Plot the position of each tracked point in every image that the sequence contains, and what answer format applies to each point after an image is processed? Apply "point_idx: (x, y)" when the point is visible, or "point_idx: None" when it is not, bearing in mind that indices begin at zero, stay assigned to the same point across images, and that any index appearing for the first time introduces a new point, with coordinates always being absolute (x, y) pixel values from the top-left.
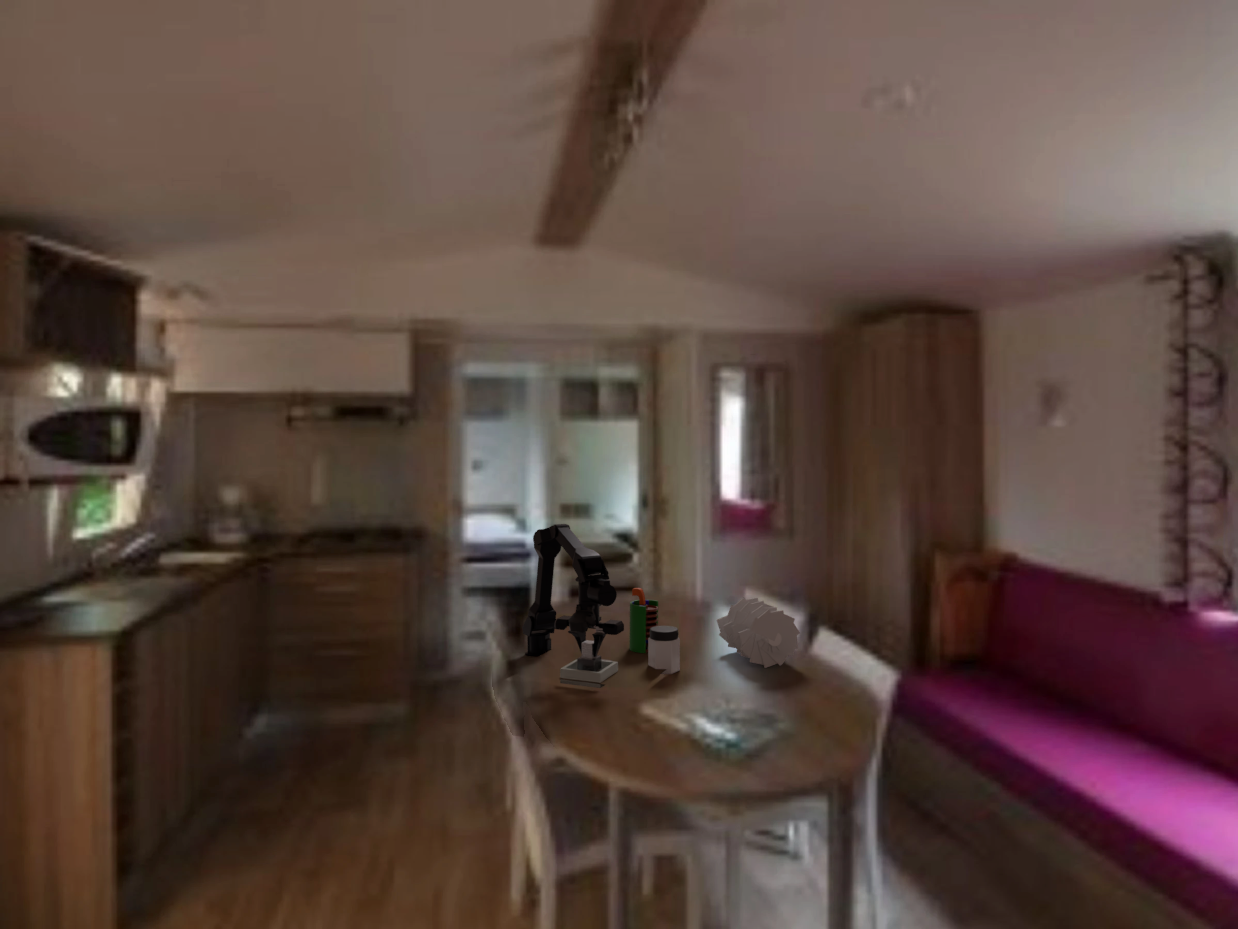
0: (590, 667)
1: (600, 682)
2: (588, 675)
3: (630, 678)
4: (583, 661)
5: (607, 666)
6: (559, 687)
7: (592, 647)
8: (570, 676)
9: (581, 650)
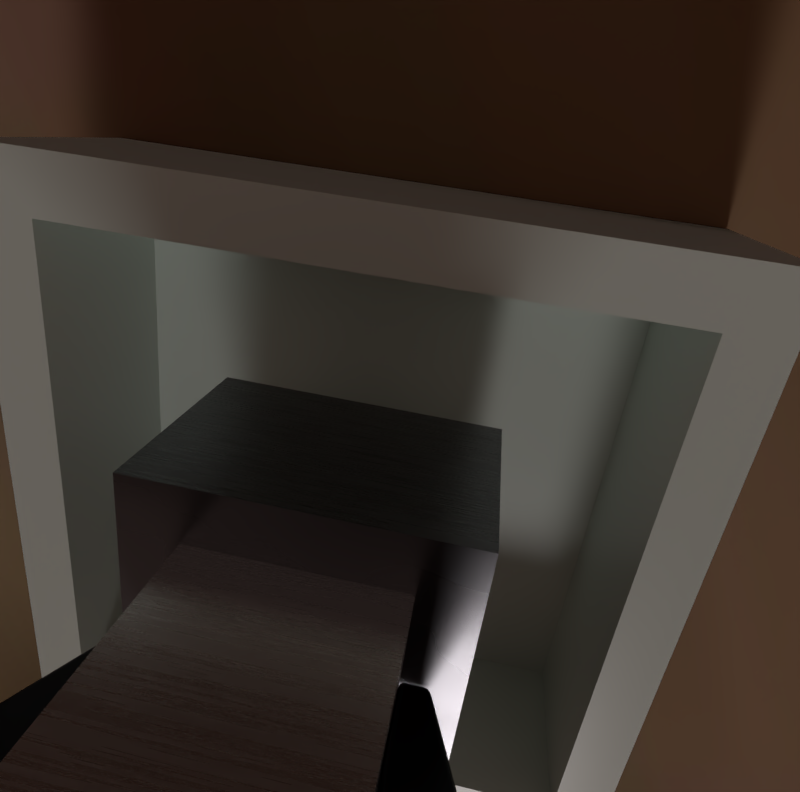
0: (249, 419)
1: (72, 138)
2: (220, 170)
3: (13, 544)
4: (359, 496)
5: (58, 526)
6: (705, 12)
7: (3, 786)
8: (568, 216)
9: (416, 781)
